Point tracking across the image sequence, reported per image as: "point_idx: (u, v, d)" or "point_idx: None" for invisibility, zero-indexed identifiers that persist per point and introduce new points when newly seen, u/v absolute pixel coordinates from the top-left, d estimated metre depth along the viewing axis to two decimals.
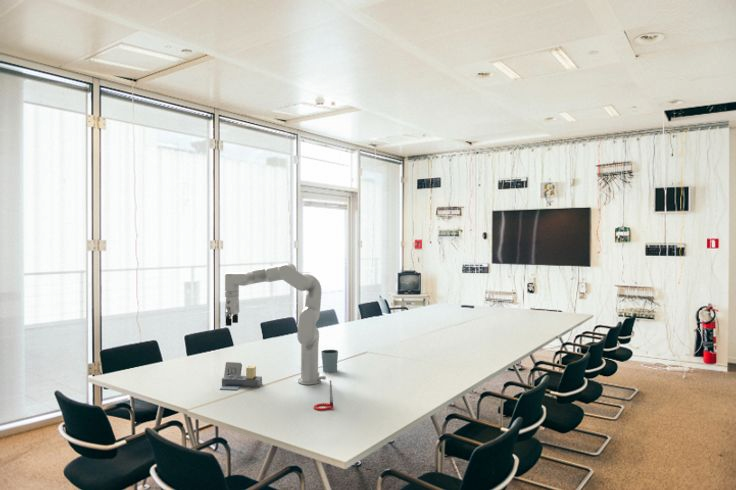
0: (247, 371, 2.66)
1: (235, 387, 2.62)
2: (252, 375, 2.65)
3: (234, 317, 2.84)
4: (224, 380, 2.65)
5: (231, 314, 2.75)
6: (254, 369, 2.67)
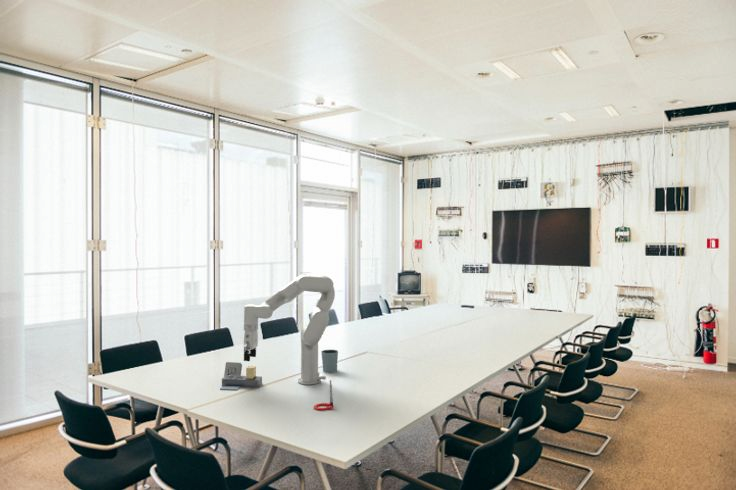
0: (247, 371, 2.66)
1: (235, 387, 2.62)
2: (252, 375, 2.65)
3: (252, 351, 2.72)
4: (224, 380, 2.65)
5: (250, 349, 2.63)
6: (254, 369, 2.67)
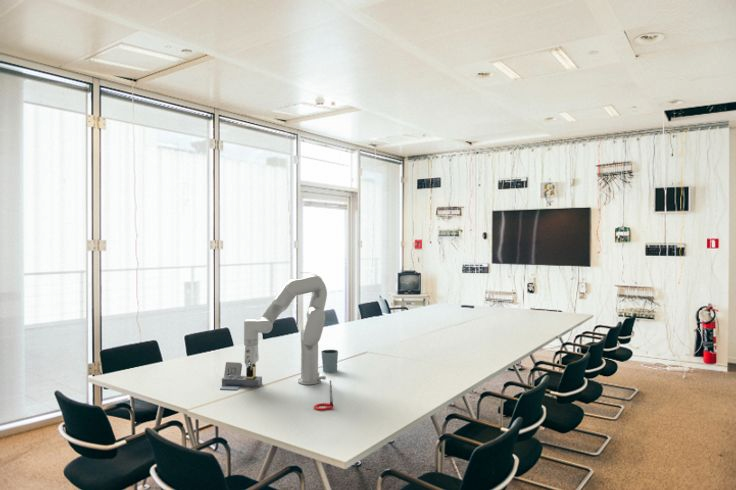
0: None
1: (235, 387, 2.62)
2: None
3: None
4: (224, 380, 2.65)
5: (251, 364, 2.65)
6: (254, 369, 2.67)
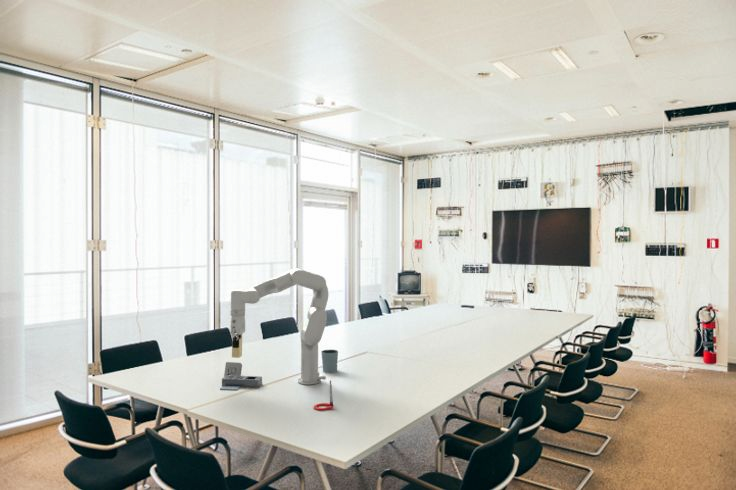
0: None
1: (235, 387, 2.62)
2: None
3: None
4: (224, 380, 2.65)
5: (238, 335, 2.61)
6: (240, 340, 2.63)
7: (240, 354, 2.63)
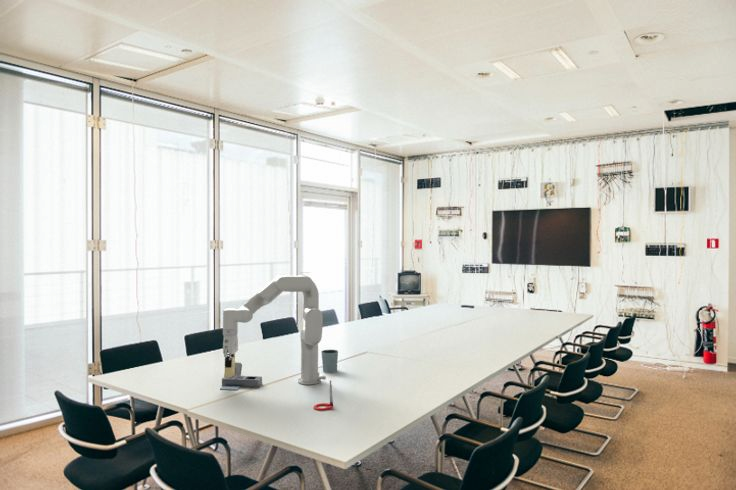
0: None
1: (235, 387, 2.62)
2: (231, 366, 2.59)
3: None
4: (224, 380, 2.65)
5: (230, 354, 2.59)
6: (233, 359, 2.61)
7: (233, 373, 2.61)
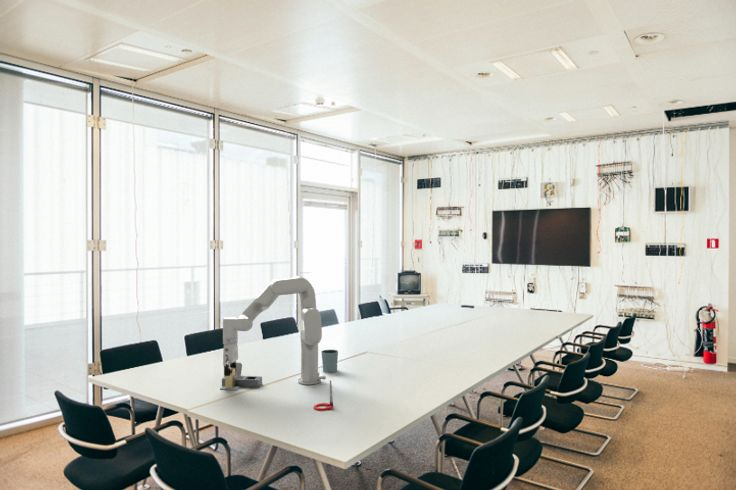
0: None
1: (235, 387, 2.62)
2: (231, 377, 2.59)
3: (232, 365, 2.65)
4: (224, 380, 2.65)
5: None
6: (233, 371, 2.61)
7: (233, 385, 2.61)
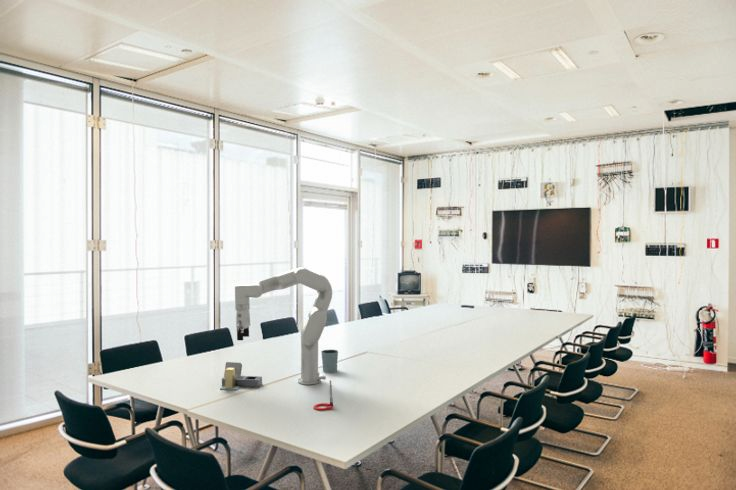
0: (226, 373, 2.60)
1: (235, 387, 2.62)
2: (231, 377, 2.59)
3: (245, 331, 2.73)
4: (224, 380, 2.65)
5: (242, 328, 2.64)
6: (233, 371, 2.61)
7: (233, 385, 2.61)
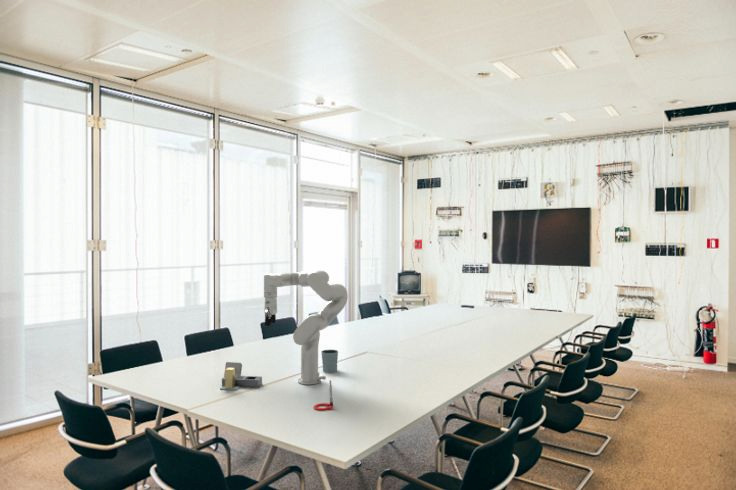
0: (226, 373, 2.60)
1: (235, 387, 2.62)
2: (231, 377, 2.59)
3: (272, 317, 2.89)
4: (224, 380, 2.65)
5: (270, 314, 2.81)
6: (233, 371, 2.61)
7: (233, 385, 2.61)
